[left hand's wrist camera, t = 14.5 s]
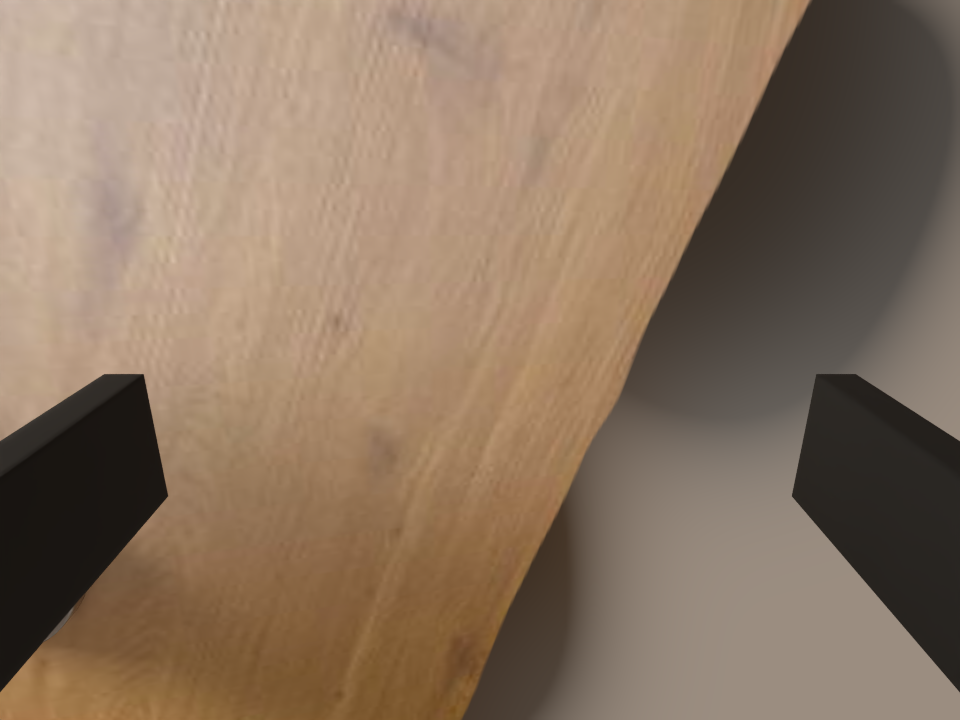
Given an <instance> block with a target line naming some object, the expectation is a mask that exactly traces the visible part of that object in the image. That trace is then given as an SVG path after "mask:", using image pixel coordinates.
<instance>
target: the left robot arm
mask: <svg viewBox="0 0 960 720" xmlns="http://www.w3.org/2000/svg"><path fill="white" fill-rule="evenodd" d="M167 497H168V493H167V488H166V483H165V478H164V473H163V468H162V463H161V458H160V454H159V449H158V444H157V439H156V434H155V429H154V424H153V419H152V414H151V409H150V404H149V399H148V394H147V389H146V384H145V379H144V374H104V375H102V376H101V377H99V378H98V379H96V380H95V381H93V382H91V383H90V384H88V385H87V386H85V387H84V388H82V389H81V390H79V391H78V392H76V393H74V394H73V395H71V396H70V397H68V398H67V399H65V400H64V401H62V402H60V403H59V404H57V405H56V406H54V407H53V408H51V409H50V410H48V411H46V412H45V413H43V414H42V415H40V416H39V417H37V418H36V419H34V420H32V421H31V422H29V423H28V424H26V425H25V426H23V427H22V428H20V429H19V430H17V431H15V432H14V433H12V434H11V435H9V436H8V437H6V438H5V439H3V440H1V441H0V692H1V691H2V689H3V688H4V687H5V686H6V685H7V684H8V682H9V681H10V680H11V679H12V678H13V677H14V675H15V674H16V673H17V672H18V671H19V670H20V668H21V667H22V666H23V665H24V664H25V663H26V661H27V660H28V659H29V658H30V657H31V656H32V654H33V653H34V652H35V651H36V650H37V649H38V647H39V646H40V645H41V644H42V643H43V642H44V641H46V640H48V639H49V638H51V637H52V636H53V635H54V634H56V633H57V632H58V631H59V630H60V629H61V628H62V626H63V625H64V624H65V623H66V622H67V621H68V619H69V618H70V617H71V616H72V615H73V613H74V612H75V611H76V610H77V608H78V607H79V606H80V604H81V602H82V600H83V598H84V595H85V593H86V591H87V590H88V589H89V588H90V587H91V586H92V584H93V583H94V582H95V581H96V580H97V579H98V577H99V576H100V575H101V574H102V573H103V572H104V570H105V569H106V568H107V567H108V566H109V565H110V563H111V562H112V561H113V560H114V559H115V558H116V556H117V555H118V554H119V553H120V552H121V551H122V549H123V548H124V547H125V546H126V545H127V544H128V542H129V541H130V540H131V539H132V538H133V537H134V535H135V534H136V533H137V532H138V531H139V530H140V528H141V527H142V526H143V525H144V524H145V523H146V521H147V520H148V519H149V518H150V517H151V516H152V514H153V513H154V512H155V511H156V510H157V509H158V507H159V506H160V505H161V504H162V503H163V502H164V500H165V499H166V498H167ZM792 497H793V498H794V499H795V500H796V502H797V503H798V504H799V505H800V506H801V507H802V509H803V510H804V511H805V512H806V513H807V514H808V516H809V517H810V518H811V519H812V520H813V521H814V523H815V524H816V525H817V526H818V527H819V528H820V530H821V531H822V532H823V533H824V534H825V535H826V537H827V538H828V539H829V540H830V541H831V542H832V544H833V545H834V546H835V547H836V548H837V549H838V551H839V552H840V553H841V554H842V555H843V556H844V558H845V559H846V560H847V561H848V562H849V563H850V565H851V566H852V567H853V568H854V569H855V570H856V572H857V573H858V574H859V575H860V576H861V577H862V579H863V580H864V581H865V582H866V583H867V584H868V586H869V587H870V588H871V589H872V590H873V591H874V593H875V594H876V595H877V596H878V597H879V598H880V600H881V601H882V602H883V603H884V604H885V605H886V606H887V608H888V609H889V610H890V611H891V612H892V614H893V615H894V616H895V617H896V618H897V619H898V621H899V622H900V623H901V624H902V625H903V626H904V628H905V629H906V630H907V631H908V632H909V633H910V635H911V636H912V637H913V638H914V639H915V640H916V642H917V643H918V644H919V645H920V646H921V647H922V649H923V650H924V651H925V652H926V653H927V654H928V656H929V657H930V658H931V659H932V660H933V661H934V663H935V664H936V665H937V666H938V667H939V668H940V670H941V671H942V672H943V673H944V674H945V675H946V677H947V678H948V679H949V680H950V681H951V682H952V684H953V685H954V686H955V687H956V688H957V689H958V691H959V692H960V441H958V440H957V439H955V438H954V437H952V436H951V435H949V434H948V433H946V432H945V431H943V430H941V429H940V428H938V427H937V426H935V425H934V424H932V423H931V422H929V421H927V420H926V419H924V418H923V417H921V416H920V415H918V414H917V413H915V412H914V411H912V410H910V409H909V408H907V407H906V406H904V405H903V404H901V403H899V402H898V401H896V400H895V399H893V398H892V397H890V396H889V395H887V394H886V393H884V392H882V391H881V390H879V389H878V388H876V387H875V386H873V385H872V384H870V383H868V382H867V381H865V380H864V379H862V378H861V377H859V376H858V375H856V374H817V375H816V379H815V384H814V389H813V394H812V399H811V404H810V409H809V414H808V419H807V424H806V429H805V434H804V439H803V444H802V449H801V454H800V459H799V463H798V469H797V473H796V478H795V483H794V488H793V493H792Z"/></svg>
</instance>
